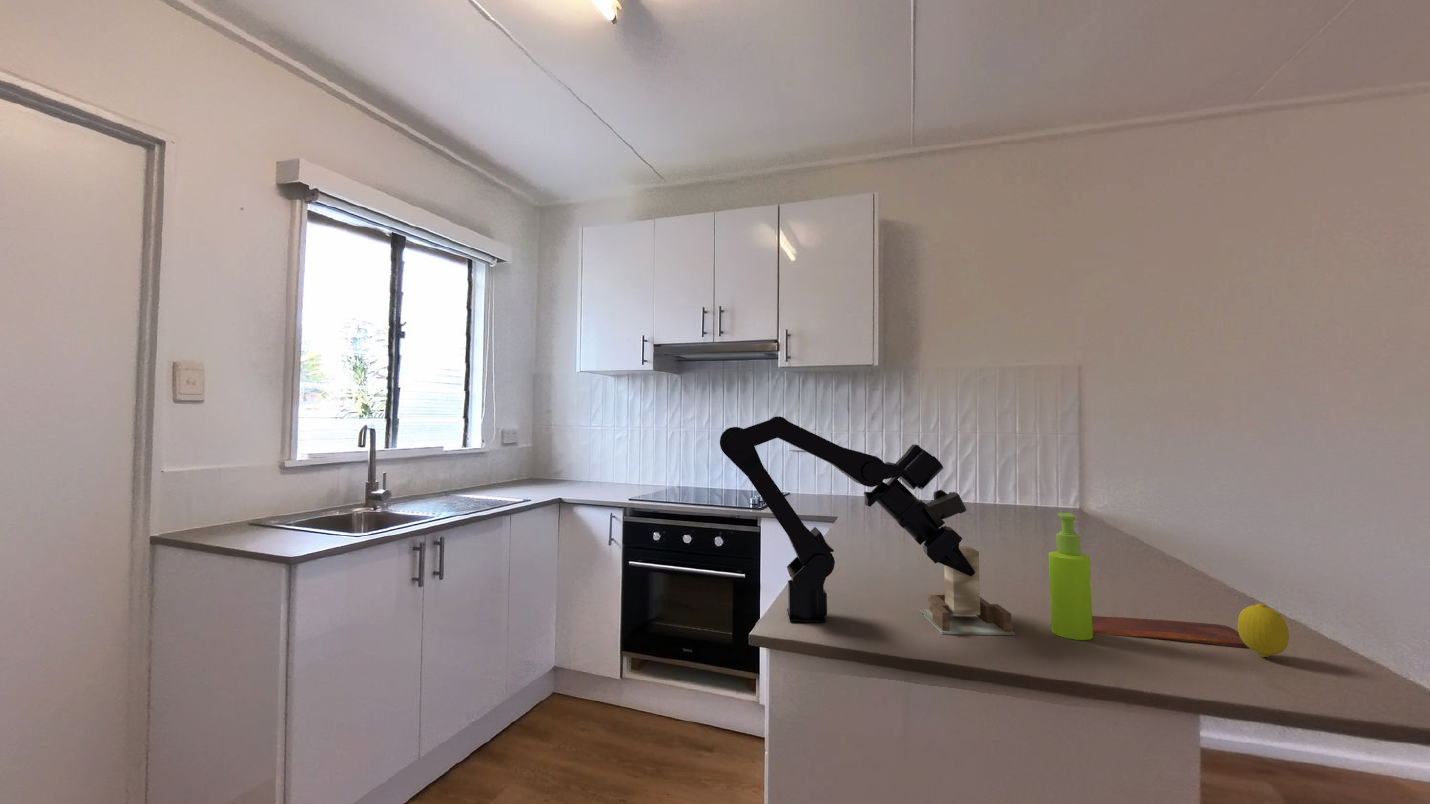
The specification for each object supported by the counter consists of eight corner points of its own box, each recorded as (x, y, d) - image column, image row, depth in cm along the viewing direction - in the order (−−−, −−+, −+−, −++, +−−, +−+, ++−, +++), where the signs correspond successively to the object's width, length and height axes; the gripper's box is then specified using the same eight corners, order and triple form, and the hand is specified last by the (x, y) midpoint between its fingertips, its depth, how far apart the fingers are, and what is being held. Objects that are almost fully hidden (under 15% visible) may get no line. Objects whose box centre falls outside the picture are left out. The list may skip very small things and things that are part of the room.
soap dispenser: (1088, 628, 95) (1083, 512, 96) (1096, 642, 89) (1090, 517, 90) (1048, 623, 97) (1044, 510, 98) (1053, 636, 91) (1049, 515, 92)
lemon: (1296, 668, 79) (1293, 612, 79) (1244, 660, 82) (1241, 605, 82) (1283, 655, 84) (1280, 601, 84) (1234, 647, 86) (1231, 596, 87)
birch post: (954, 614, 97) (952, 551, 97) (945, 605, 101) (943, 545, 102) (980, 614, 96) (978, 551, 97) (970, 606, 101) (968, 546, 101)
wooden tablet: (1228, 631, 95) (1228, 621, 95) (1265, 654, 85) (1265, 643, 86) (1053, 615, 103) (1053, 606, 103) (1069, 634, 94) (1069, 624, 94)
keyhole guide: (941, 634, 93) (941, 613, 93) (919, 611, 104) (919, 593, 104) (1014, 635, 92) (1014, 614, 92) (984, 612, 104) (983, 593, 104)
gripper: (947, 482, 92) (1021, 551, 89) (927, 473, 110) (987, 530, 107) (898, 527, 93) (970, 598, 90) (886, 511, 111) (945, 569, 108)
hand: (969, 570), depth 99 cm, fingers closed on birch post, 5 cm apart
